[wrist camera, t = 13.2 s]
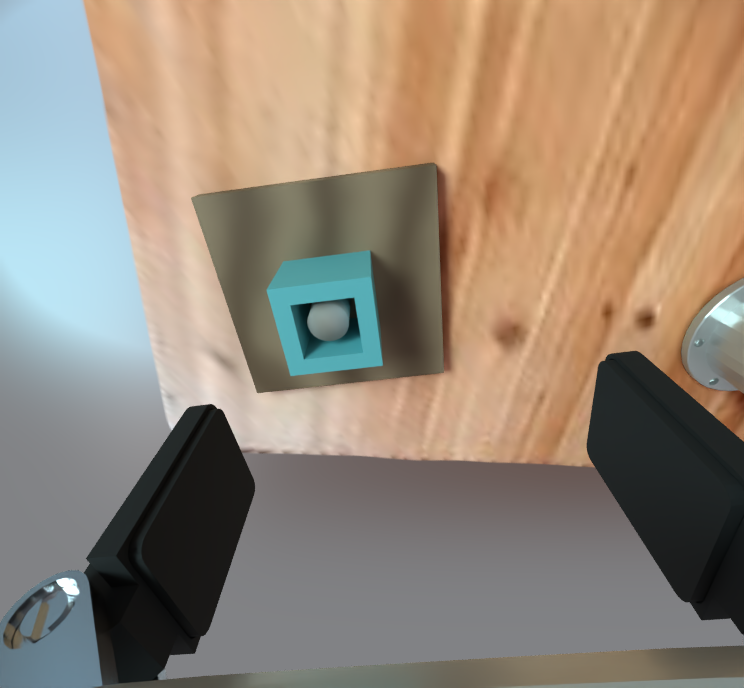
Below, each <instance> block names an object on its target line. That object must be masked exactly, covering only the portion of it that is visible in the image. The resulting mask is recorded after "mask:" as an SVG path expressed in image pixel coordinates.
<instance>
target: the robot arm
mask: <svg viewBox="0 0 744 688" xmlns="http://www.w3.org/2000/svg"><path fill="white" fill-rule="evenodd" d="M681 356H682V363H683V365H684V368H685V370H686V371H687V372H688V373H689V375H690V376H691V377H692V378H694V379H695V380H696V381H698V382H699V383H700V384H702V385H704V386H706V387H708V388H711V389H715V390H721V391H735V390H740V391H741V392H742V393H744V278H742V279H740V280H739V281H737V282H735V283H734V284H732V285H730V286H728V287H727V288H725V289H724V290H723V291H721V292H720V293H719V294H717V295H716V296H715V297H714V298H712V299H711V300H710V301H709V302H708V303H707V304H706V305H705V306H704V307H703V308H702V309H701V311H700V312H699V313H698V314H697V316H696V317H695V318H694V319H693V321H692V323H691V324H690V326H689V328H688V330H687V332H686V334H685V337H684V340H683V343H682V350H681ZM587 452H588V455H589V458H590V460H591V461H592V463H593V464H594V466H595V467H596V469H597V471H598V472H599V474H600V475H601V477H602V478H603V480H604V482H605V483H606V485H607V486H608V488H609V489H610V491H611V492H612V494H613V496H614V497H615V499H616V500H617V502H618V503H619V505H620V507H621V508H622V510H623V511H624V513H625V514H626V516H627V518H628V519H629V521H630V522H631V524H632V525H633V527H634V529H635V530H636V532H637V533H638V535H639V536H640V538H641V540H642V541H643V543H644V544H645V546H646V547H647V549H648V550H649V552H650V554H651V555H652V557H653V558H654V560H655V562H656V563H657V565H658V566H659V568H660V569H661V571H662V572H663V574H664V576H665V577H666V579H667V580H668V582H669V583H670V585H671V586H672V588H673V590H674V591H675V593H676V594H677V595H678V597H680V599H681V600H683V601H684V602H690V603H691V605H692V606H693V608H694V609H695V611H696V612H697V614H698V615H699V617H700V619H701V620H713V619H728V618H731V620H732V621H733V622H734V624H735V625H736V626H737V628H738V629H739V631H740V632H741V633H742V634H743V641H742V646H724V647H723V646H722V647H696V648H669V649H668V648H667V649H650V650H631V651H612V652H594V653H575V654H557V655H539V656H521V657H503V658H486V659H469V660H453V661H437V662H420V663H404V664H386V665H370V666H354V667H337V668H322V669H306V670H292V671H276V672H261V673H245V674H231V675H216V676H201V677H189V678H179V679H167V677H166V672H165V666H166V663H167V661H168V658H169V655H180V654H194V653H195V652H196V649H197V646H198V642H199V640H200V637H201V636H204V635H205V634H206V633H207V631H208V630H209V627H210V625H211V622H212V619H213V616H214V613H215V610H216V607H217V604H218V601H219V598H220V595H221V592H222V589H223V586H224V583H225V580H226V577H227V574H228V571H229V568H230V565H231V562H232V559H233V556H234V553H235V550H236V547H237V544H238V541H239V538H240V535H241V532H242V529H243V526H244V523H245V520H246V517H247V514H248V511H249V508H250V505H251V502H252V499H253V496H254V492H255V483H254V479H253V477H252V475H251V472H250V470H249V468H248V466H247V463H246V461H245V459H244V457H243V455H242V452H241V450H240V448H239V446H238V443H237V441H236V439H235V437H234V434H233V432H232V430H231V428H230V425H229V423H228V421H227V419H226V417H225V414H224V412H223V411H222V410H221V409H217V408H216V407H215V406H214V405H212V404H208V405H200V406H192V407H189V408H188V409H187V410H186V411H185V412H184V414H183V415H182V417H181V418H180V420H179V421H178V423H177V424H176V426H175V427H174V429H173V430H172V432H171V433H170V435H169V436H168V438H167V439H166V441H165V442H164V443H163V445H162V447H161V448H160V450H159V451H158V453H157V454H156V455H155V457H154V458H153V460H152V461H151V463H150V464H149V466H148V467H147V469H146V471H145V472H144V473H143V475H142V476H141V478H140V479H139V481H138V482H137V484H136V485H135V487H134V488H133V490H132V491H131V493H130V494H129V496H128V497H127V498H126V500H125V502H124V503H123V505H122V506H121V507H120V509H119V510H118V512H117V513H116V515H115V516H114V518H113V519H112V521H111V522H110V524H109V525H108V527H107V528H106V530H105V531H104V533H103V534H102V536H101V537H100V539H99V540H98V542H97V543H96V545H95V546H94V548H93V549H92V550H91V552H90V554H89V555H88V557H87V558H86V559H87V560H88V561H89V563H90V564H89V566H88V567H87V569H86V571H85V572H84V573H82V572H81V571H79V570H71V571H70V570H68V571H65V572H61V573H58V574H55V575H53V576H51V577H49V578H47V579H46V580H44V581H42V582H40V583H39V584H37V585H36V586H35V587H33V588H32V589H30V590H29V591H28V592H27V593H26V594H24V595H23V596H22V597H21V598H20V599H19V600H18V601H17V602H16V603H15V604H14V605H13V606H12V608H11V609H10V610H9V611H8V612H7V614H6V615H5V616H4V617H3V619H2V621H1V622H0V688H744V442H743V441H742V440H741V439H740V438H739V437H737V436H736V435H735V434H734V433H733V432H732V431H730V430H729V429H728V428H727V427H726V426H725V425H724V424H722V423H721V422H720V421H719V420H718V419H717V418H715V417H714V416H713V415H712V414H711V413H710V412H708V411H707V410H706V409H705V408H704V407H703V406H702V405H700V404H699V403H698V402H697V401H696V400H695V399H693V398H692V397H691V396H690V395H689V394H688V393H686V392H685V391H684V390H683V389H682V388H681V387H680V386H678V385H677V384H676V383H675V382H674V381H673V380H671V379H670V378H669V377H668V376H667V375H666V374H664V373H663V372H662V371H661V370H660V369H659V368H657V367H656V366H655V365H654V364H653V363H652V362H651V361H649V360H648V359H647V358H646V357H645V356H644V355H642V354H641V353H640V352H638V351H629V352H621V353H613V354H609V355H608V356H607V357H606V359H605V361H601V362H600V363H599V366H598V372H597V378H596V385H595V392H594V398H593V405H592V412H591V419H590V425H589V432H588V439H587Z"/></svg>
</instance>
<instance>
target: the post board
mask: <svg viewBox="0 0 744 688" xmlns="http://www.w3.org/2000/svg"><path fill="white" fill-rule="evenodd" d="M191 199H192V202H193V205H194V208H195V211H196V214H197V217H198V220H199V223H200V226H201V229H202V232H203V235H204V237H205V240H206V243H207V246H208V249H209V252H210V255H211V258H212V261H213V264H214V267H215V270H216V273H217V276H218V279H219V282H220V285H221V287H222V290H223V293H224V296H225V299H226V302H227V305H228V308H229V311H230V314H231V317H232V320H233V323H234V326H235V329H236V332H237V335H238V338H239V340H240V343H241V346H242V349H243V352H244V355H245V358H246V361H247V364H248V367H249V370H250V373H251V376H252V379H253V382H254V385H255V388H256V391H257V393H263V392H272V391H281V390H290V389H299V388H309V387H318V386H327V385H336V384H345V383H354V382H363V381H373V380H382V379H391V378H400V377H409V376H418V375H427V374H437V373H444V359H443V332H442V305H441V278H440V251H439V223H438V196H437V169H436V164H435V163H427V164H420V165H412V166H405V167H398V168H390V169H383V170H376V171H368V172H361V173H354V174H346V175H339V176H332V177H324V178H317V179H310V180H302V181H295V182H288V183H280V184H273V185H266V186H258V187H251V188H244V189H237V190H229V191H222V192H215V193H207V194H200V195H197V196H195V197H192V198H191ZM369 250H370V253H371V261H372V268H373V276H374V284H375V291H376V299H377V307H378V314H379V322H380V331H381V346H382V360H383V366H376V367H367V368H358V369H349V370H340V371H331V372H322V373H314V374H305V375H296V376H290V372H289V368H288V365H287V361H286V358H285V354H284V351H283V347H282V344H281V340H280V336H279V333H278V329H277V326H276V322H275V319H274V315H273V311H272V308H271V304H270V301H269V297H268V294H267V288H268V286H269V285H270V283H271V281H272V280H273V278H274V276H275V275H276V273H277V271H278V270H279V268H280V266H281V264H282V263H283V261H291V260H299V259H307V258H315V257H322V256H330V255H338V254H346V253H353V252H361V251H369ZM309 305H310V313H309V316H308V321H307V323H308V328H309V330H310V331H311V333H312V334H313V335H314V336H315V337H317V338H318V339H321V340H324V341H334V340H337V339H340V338H341V337H343V336H344V335H345V333H346V332H347V330H348V327H349V319H350V318H358V317H357V311H356V305H355V299H354V298H346V299H338V300H329V301H321V302H313V303H309Z"/></svg>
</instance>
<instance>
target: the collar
mask: <svg viewBox="0 0 744 688" xmlns="http://www.w3.org/2000/svg"><path fill="white" fill-rule="evenodd" d="M267 294H268V297H269V301H270V304H271V308H272V311H273V315H274V319H275V322H276V326H277V329H278V333H279V336H280V340H281V344H282V347H283V351H284V354H285V358H286V361H287V365H288V368H289V372H290V376H296V375H305V374H314V373H322V372H331V371H340V370H349V369H358V368H367V367H376V366H383V360H382V346H381V331H380V322H379V314H378V307H377V299H376V291H375V284H374V276H373V268H372V261H371V253H370V250H369V251H361V252H353V253H346V254H338V255H330V256H322V257H315V258H307V259H299V260H291V261H283V263H282V264H281V266H280V268H279V270H278V271H277V273H276V275H275V276H274V278H273V280H272V281H271V283H270V285H269V286H268V288H267ZM346 298H354V299H355V305H356V311H357V317H358V318H350V319H349V327H348V330H347V332H346V333H345V335H344V336H343V337H341V338H340V339H337V340H334V341H324V340H321V339H318V338H317V337H315V336H314V335H313V334H312V333H311V331H310V330H309V328H308V323H307V321H308V316H309V313H310V305H309V303H313V302H321V301H329V300H338V299H346Z"/></svg>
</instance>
